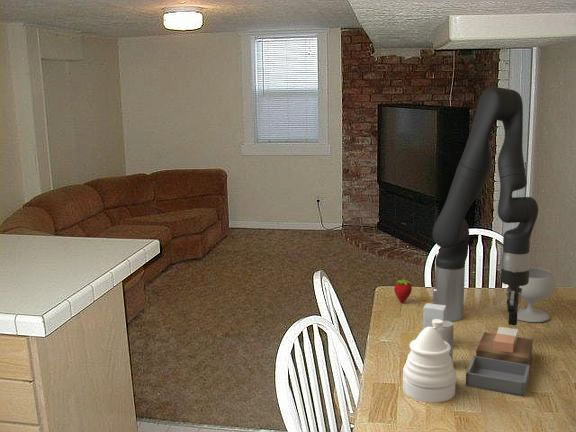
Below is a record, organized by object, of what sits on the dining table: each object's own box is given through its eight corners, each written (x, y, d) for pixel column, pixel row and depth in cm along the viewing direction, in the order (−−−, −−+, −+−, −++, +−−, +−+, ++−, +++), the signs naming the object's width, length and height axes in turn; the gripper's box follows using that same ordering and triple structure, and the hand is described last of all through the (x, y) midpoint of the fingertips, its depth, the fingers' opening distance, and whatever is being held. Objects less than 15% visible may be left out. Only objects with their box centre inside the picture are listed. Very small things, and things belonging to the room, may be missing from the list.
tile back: (496, 341, 171) (496, 333, 170) (498, 335, 175) (499, 326, 175) (515, 344, 169) (515, 336, 168) (517, 337, 173) (518, 329, 173)
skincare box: (446, 343, 182) (447, 305, 180) (443, 349, 179) (444, 310, 176) (425, 340, 185) (426, 302, 182) (422, 346, 181) (423, 307, 179)
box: (465, 385, 157) (466, 373, 157) (473, 367, 167) (473, 355, 166) (524, 396, 151) (525, 383, 150) (528, 377, 161) (529, 364, 160)
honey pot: (437, 374, 164) (438, 309, 160) (465, 396, 152) (468, 327, 148) (393, 382, 160) (394, 316, 156) (419, 406, 148) (420, 336, 144)
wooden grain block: (475, 367, 167) (476, 350, 166) (483, 348, 178) (484, 332, 177) (527, 376, 161) (528, 358, 160) (532, 356, 173) (533, 339, 172)
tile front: (493, 349, 166) (493, 340, 166) (495, 342, 170) (496, 333, 170) (512, 352, 164) (513, 343, 163) (515, 345, 168) (515, 336, 168)
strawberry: (412, 300, 218) (413, 273, 216) (410, 307, 211) (410, 279, 209) (395, 299, 220) (396, 272, 218) (392, 306, 213) (392, 278, 211)
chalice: (498, 316, 202) (500, 271, 199) (521, 305, 211) (523, 263, 208) (539, 328, 192) (542, 281, 189) (561, 316, 201) (564, 272, 197)
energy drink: (429, 361, 171) (430, 320, 169) (448, 359, 172) (449, 319, 169) (435, 369, 166) (436, 327, 164) (455, 368, 167) (456, 326, 164)
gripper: (504, 259, 183) (502, 314, 187) (498, 271, 172) (496, 330, 175) (531, 261, 180) (528, 318, 184) (527, 274, 169) (524, 334, 172)
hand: (512, 324), depth 180 cm, fingers closed
